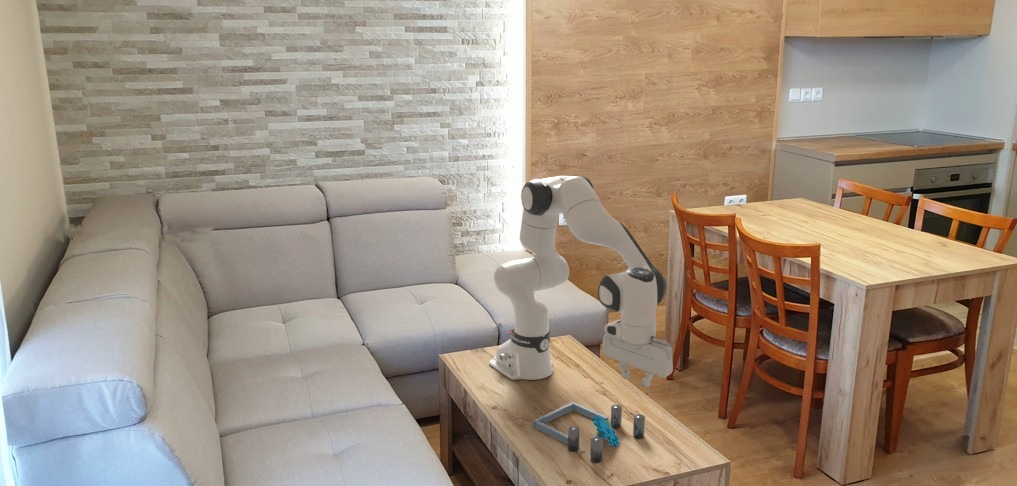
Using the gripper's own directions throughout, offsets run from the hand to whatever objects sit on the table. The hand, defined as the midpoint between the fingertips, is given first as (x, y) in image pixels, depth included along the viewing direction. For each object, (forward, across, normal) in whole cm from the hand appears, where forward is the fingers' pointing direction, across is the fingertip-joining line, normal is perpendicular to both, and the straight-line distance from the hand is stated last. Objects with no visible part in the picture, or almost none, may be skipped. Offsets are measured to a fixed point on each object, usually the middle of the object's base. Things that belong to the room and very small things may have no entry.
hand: (635, 381), depth 201 cm
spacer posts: (+21, +9, 0) cm, 23 cm away
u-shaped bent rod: (+21, +22, 0) cm, 30 cm away
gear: (+21, +9, 0) cm, 23 cm away
